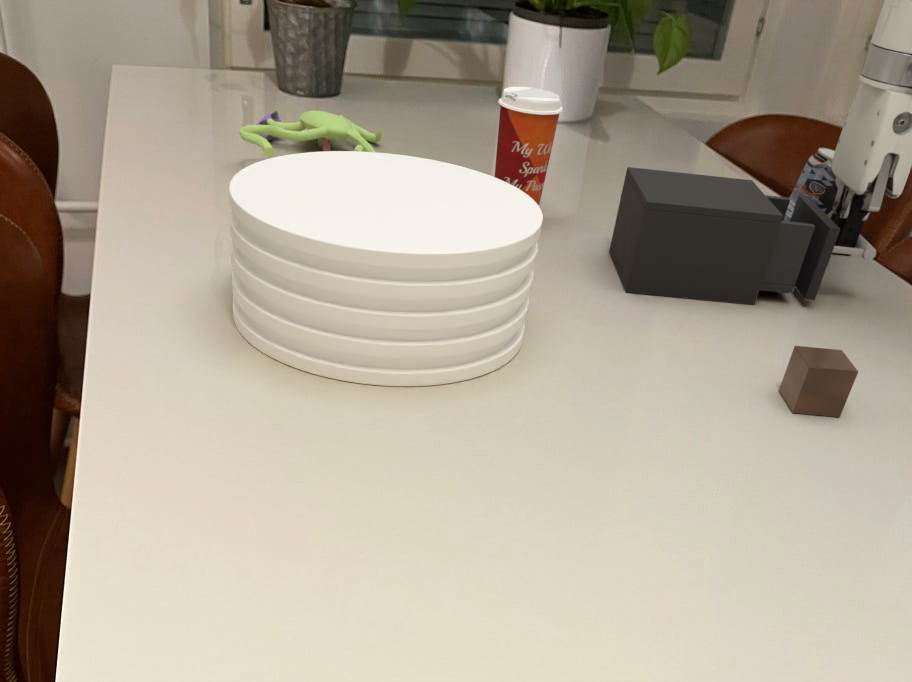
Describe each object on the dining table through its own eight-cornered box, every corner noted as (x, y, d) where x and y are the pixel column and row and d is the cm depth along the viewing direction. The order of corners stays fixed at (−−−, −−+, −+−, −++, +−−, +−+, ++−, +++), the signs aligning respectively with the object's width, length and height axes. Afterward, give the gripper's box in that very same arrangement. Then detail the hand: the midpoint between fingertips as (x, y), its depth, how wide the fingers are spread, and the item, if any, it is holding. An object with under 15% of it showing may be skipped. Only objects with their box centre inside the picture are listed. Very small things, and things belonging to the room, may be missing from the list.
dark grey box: (727, 264, 119) (752, 180, 112) (754, 305, 109) (783, 215, 103) (608, 252, 118) (627, 166, 111) (625, 292, 108) (647, 201, 102)
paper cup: (507, 230, 120) (526, 102, 111) (471, 209, 125) (486, 86, 115) (557, 224, 124) (579, 100, 115) (520, 204, 128) (538, 84, 119)
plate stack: (206, 271, 100) (200, 150, 93) (458, 261, 110) (471, 151, 102) (274, 398, 81) (273, 258, 74) (572, 374, 91) (598, 248, 83)
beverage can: (762, 241, 127) (794, 140, 119) (818, 248, 127) (853, 148, 119) (773, 258, 122) (807, 154, 114) (831, 265, 122) (869, 162, 115)
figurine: (236, 181, 124) (234, 133, 120) (255, 126, 144) (254, 83, 140) (382, 195, 126) (385, 147, 122) (381, 139, 146) (383, 97, 142)
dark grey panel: (833, 268, 119) (857, 201, 114) (866, 305, 110) (894, 234, 105) (676, 253, 117) (693, 183, 112) (697, 289, 108) (717, 216, 103)
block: (824, 394, 93) (842, 349, 90) (840, 417, 89) (858, 371, 86) (778, 390, 92) (794, 345, 90) (792, 413, 89) (809, 366, 86)
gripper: (968, 90, 94) (891, 280, 106) (908, 59, 106) (845, 234, 118) (893, 82, 94) (824, 273, 106) (841, 51, 105) (784, 228, 117)
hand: (835, 252), depth 112 cm, fingers closed
